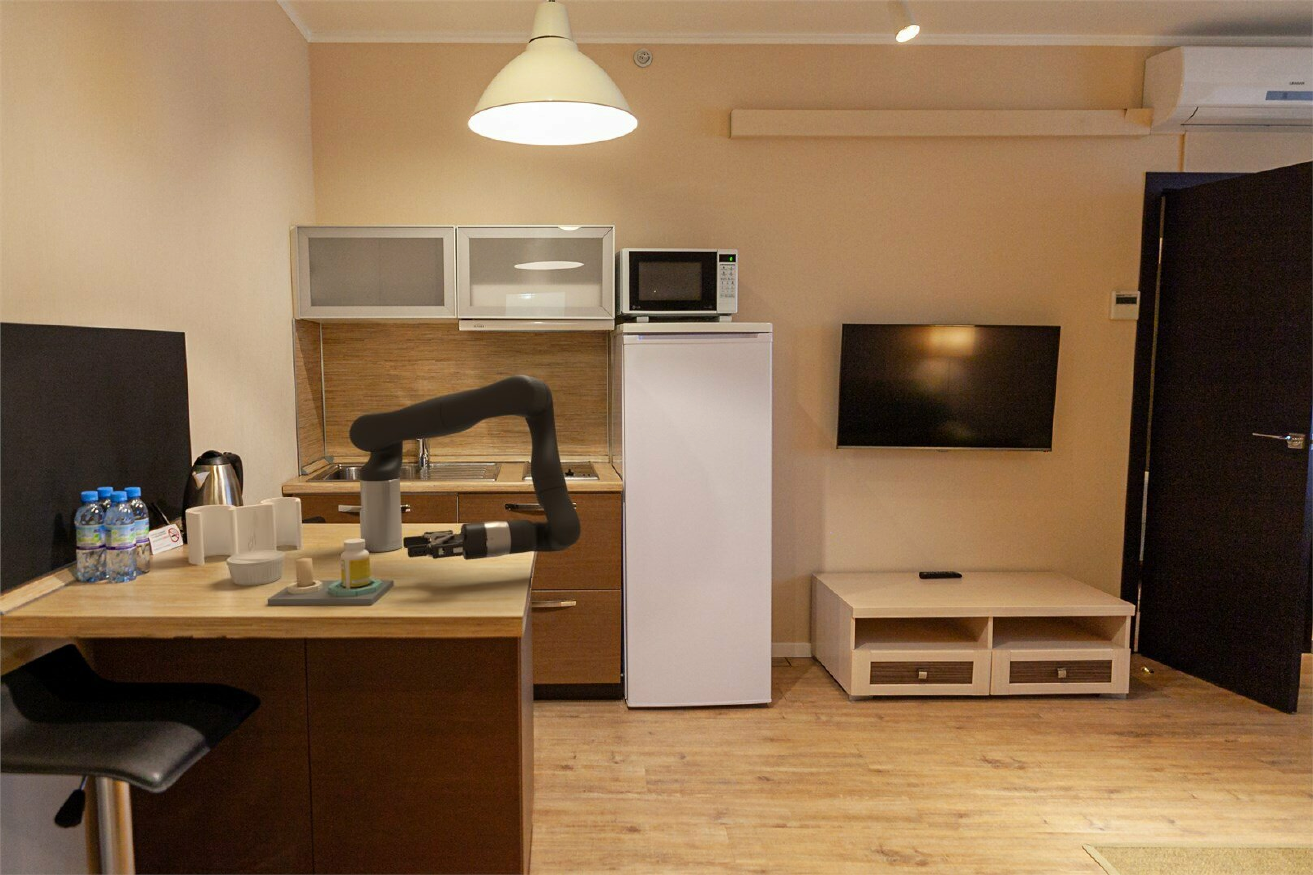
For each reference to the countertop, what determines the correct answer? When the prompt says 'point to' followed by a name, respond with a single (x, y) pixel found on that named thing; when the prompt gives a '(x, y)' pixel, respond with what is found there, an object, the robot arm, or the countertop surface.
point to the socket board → (326, 590)
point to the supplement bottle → (355, 565)
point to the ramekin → (256, 567)
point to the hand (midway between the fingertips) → (405, 547)
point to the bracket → (243, 528)
